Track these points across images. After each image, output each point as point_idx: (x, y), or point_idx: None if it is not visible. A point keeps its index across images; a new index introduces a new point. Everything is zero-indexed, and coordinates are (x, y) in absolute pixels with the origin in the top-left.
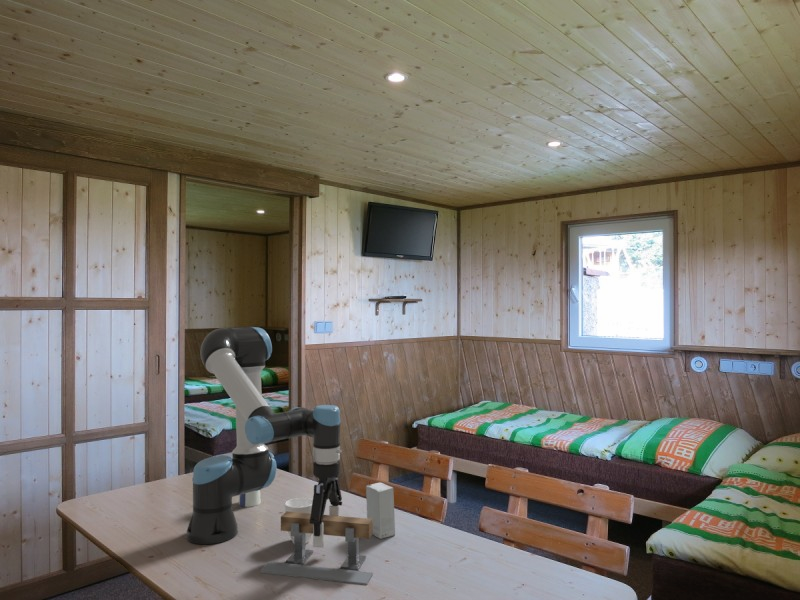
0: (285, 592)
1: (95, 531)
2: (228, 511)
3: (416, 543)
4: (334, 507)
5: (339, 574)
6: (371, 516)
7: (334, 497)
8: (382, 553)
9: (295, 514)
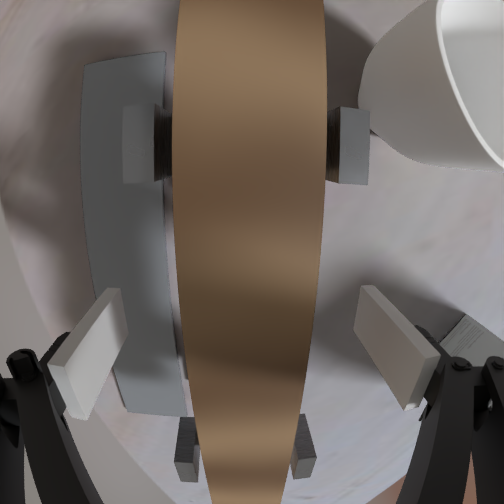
0: (9, 221)
1: None
2: None
3: (380, 436)
4: (409, 388)
5: (138, 346)
6: (475, 365)
7: (411, 471)
8: (322, 403)
9: (267, 80)
